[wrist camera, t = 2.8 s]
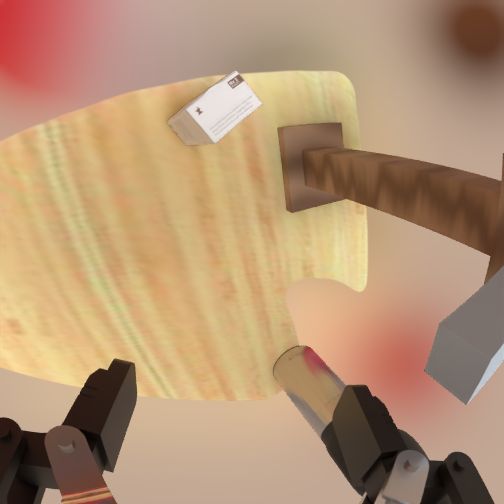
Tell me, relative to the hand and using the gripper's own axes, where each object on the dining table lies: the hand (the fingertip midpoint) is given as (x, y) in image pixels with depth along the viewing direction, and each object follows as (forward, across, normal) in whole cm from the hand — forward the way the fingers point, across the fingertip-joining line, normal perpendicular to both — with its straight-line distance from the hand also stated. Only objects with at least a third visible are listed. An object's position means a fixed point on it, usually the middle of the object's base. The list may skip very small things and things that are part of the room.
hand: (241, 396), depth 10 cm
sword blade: (+3, +15, +7) cm, 17 cm away
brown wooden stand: (+35, +8, +9) cm, 37 cm away
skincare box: (+29, -8, +13) cm, 33 cm away
